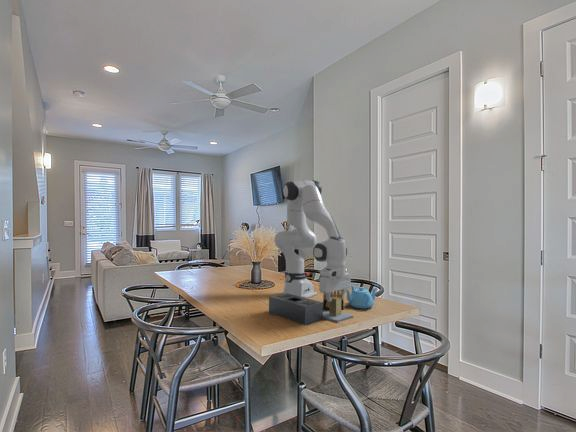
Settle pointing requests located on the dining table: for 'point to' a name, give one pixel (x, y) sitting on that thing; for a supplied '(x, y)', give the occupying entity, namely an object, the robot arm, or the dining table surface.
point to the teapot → (361, 297)
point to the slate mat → (336, 319)
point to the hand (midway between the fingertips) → (335, 299)
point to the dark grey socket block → (296, 308)
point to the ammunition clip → (325, 303)
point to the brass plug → (335, 306)
